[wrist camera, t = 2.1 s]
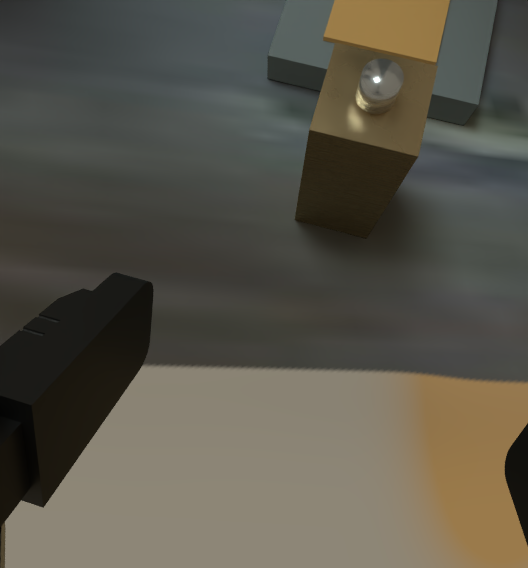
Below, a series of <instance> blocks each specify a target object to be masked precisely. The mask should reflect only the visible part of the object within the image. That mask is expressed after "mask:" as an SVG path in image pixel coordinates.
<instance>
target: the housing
mask: <svg viewBox="0 0 528 568" xmlns="http://www.w3.org/2000/svg"><path fill="white" fill-rule="evenodd" d="M437 68H438V66H435V65H431V64H427V63H422V62H418V61H414V60H409V59H405V58H401V57H396V56H392V55H388V54H383V53H379V52H374V51H370V50H366V49H361V48H357V47H353V46H348V45H344V44H340V43H335V45H334V48H333V52H332V55H331V58H330V62H329V65H328V69H327V72H326V75H325V79H324V82H323V86H322V89H321V92H320V96H319V99H318V102H317V106H316V109H315V113H314V116H313V119H312V123H311V126H310V130H309V135H308V142H307V148H306V154H305V160H304V166H303V172H302V178H301V184H300V190H299V196H298V202H297V208H296V215H295V220H297V221H301V222H305V223H309V224H312V225H316V226H320V227H324V228H328V229H331V230H335V231H339V232H343V233H347V234H350V235H354V236H358V237H362V238H367V237H368V235H369V234H370V232H371V230H372V229H373V227H374V226H375V224H376V222H377V221H378V219H379V218H380V216H381V215H382V213H383V211H384V210H385V208H386V207H387V205H388V203H389V202H390V200H391V199H392V197H393V196H394V194H395V192H396V191H397V189H398V188H399V186H400V184H401V183H402V181H403V180H404V178H405V177H406V175H407V173H408V172H409V170H410V169H411V167H412V166H413V164H414V162H415V161H416V159H417V158H418V155H419V151H420V146H421V141H422V137H423V132H424V128H425V123H426V118H427V114H428V109H429V105H430V100H431V95H432V91H433V86H434V82H435V77H436V73H437Z"/></svg>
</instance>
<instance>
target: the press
mask: <svg viewBox="0 0 528 568" xmlns="http://www.w3.org/2000/svg"><path fill="white" fill-rule="evenodd" d="M497 2H498V0H286V3H285V6H284V9H283V12H282V15H281V18H280V21H279V23H278V26H277V29H276V32H275V35H274V38H273V41H272V44H271V47H270V50H269V53H268V79H272V80H276V81H280V82H284V83H288V84H293V85H297V86H301V87H305V88H309V89H313V90H318V91H321V89H322V86H323V82H324V79H325V75H326V72H327V69H328V65H329V62H330V58H331V55H332V52H333V48H334V45H335V43H340V44H344V45H348V46H353V47H357V48H361V49H366V50H370V51H374V52H379V53H383V54H388V55H392V56H396V57H401V58H405V59H409V60H414V61H418V62H422V63H427V64H431V65H435V66H438V68H437V73H436V77H435V82H434V86H433V91H432V95H431V100H430V105H429V109H428V114H427V117H430V118H435V119H439V120H443V121H447V122H451V123H455V124H460V125H464V124H465V123H466V121H467V120H468V119H469V117H470V116H471V115H472V113H473V112H474V110H475V109H476V108H477V106H478V105H479V100H480V94H481V89H482V83H483V78H484V73H485V67H486V62H487V56H488V51H489V45H490V40H491V34H492V29H493V24H494V18H495V13H496V7H497Z"/></svg>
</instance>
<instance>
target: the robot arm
mask: <svg viewBox="0 0 528 568" xmlns="http://www.w3.org/2000/svg"><path fill="white" fill-rule="evenodd" d="M152 304H153V285H152V283H151V282H148V281H145V280H141V279H138V278H134V277H130V276H127V275H123V274H120V273H113V274H112V275H110V276H109V277H108V278H107V279H106V280H105V281H103V282H102V283H101V284H100V285H99V286H98V287H97V288H96V289H95V290H93V291H90V290H86V289H81V290H79V291H76V292H74V293H71V294H69V295H66V296H64V297H61V298H59V299H57V300H56V301H55V302H53V303H52V304H51V305H50V306H49V307H47V308H46V309H45V310H44V311H42V312H41V313H40V314H39V317H38V318H37V317H35V318H34V319H33V320H31V321H30V322H29V323H28V324H27V325H25V326H24V327H23V330H22V331H20V330H19V331H18V332H17V333H16V334H14V335H13V336H12V337H11V338H9V339H8V340H7V341H6V342H5V343H3V344H2V345H1V346H0V568H5V520H6V519H7V518H8V517H9V515H10V514H11V513H12V511H13V510H14V509H15V507H16V506H17V505H18V503H19V502H20V501H21V500H22V501H25V502H29V503H31V504H34V505H37V506H40V507H44V506H45V505H46V503H47V502H48V500H49V499H50V497H51V496H52V495H53V493H54V492H55V490H56V489H57V487H58V486H59V484H60V483H61V482H62V480H63V479H64V477H65V476H66V474H67V473H68V472H69V470H70V469H71V467H72V466H73V465H74V463H75V462H76V460H77V459H78V457H79V456H80V455H81V453H82V451H83V450H84V449H85V447H86V446H87V444H88V443H89V442H90V440H91V439H92V437H93V436H94V434H95V433H96V432H97V430H98V429H99V427H100V426H101V424H102V423H103V422H104V420H105V419H106V417H107V416H108V414H109V413H110V412H111V410H112V409H113V407H114V406H115V404H116V403H117V401H118V400H119V399H120V397H121V396H122V394H123V393H124V391H125V390H126V389H127V387H128V386H129V384H130V383H131V381H132V380H133V379H134V377H135V376H136V374H137V373H138V371H139V370H140V368H141V366H142V365H143V362H144V360H145V358H146V355H147V352H148V348H149V343H150V332H151V318H152ZM505 477H506V481H507V484H508V488H509V490H510V494H511V497H512V500H513V503H514V505H515V509H516V512H517V515H518V518H519V521H520V524H521V527H522V529H523V533H524V536H525V539H526V542H527V545H528V424H527V425H526V427H525V428H524V429H523V431H522V432H521V433H520V435H519V436H518V438H517V439H516V440H515V442H514V443H513V444H512V446H511V447H510V449H509V451H508V453H507V456H506V461H505Z"/></svg>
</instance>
